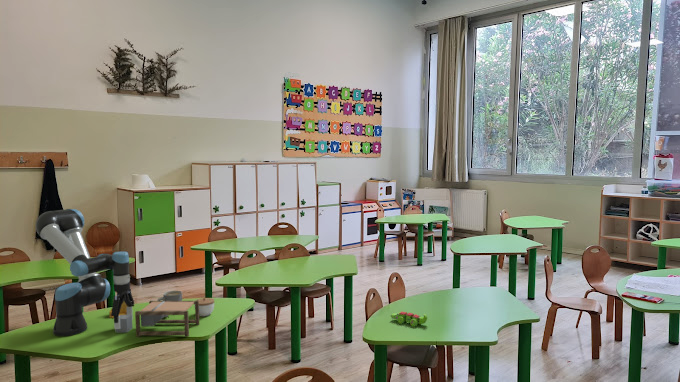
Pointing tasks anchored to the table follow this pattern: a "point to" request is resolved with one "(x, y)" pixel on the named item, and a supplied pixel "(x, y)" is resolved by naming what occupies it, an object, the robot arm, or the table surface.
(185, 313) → the stand
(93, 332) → the table surface
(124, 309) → the yellow toy armchair
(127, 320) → the slate block
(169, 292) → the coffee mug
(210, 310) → the lidded jar
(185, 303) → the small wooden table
